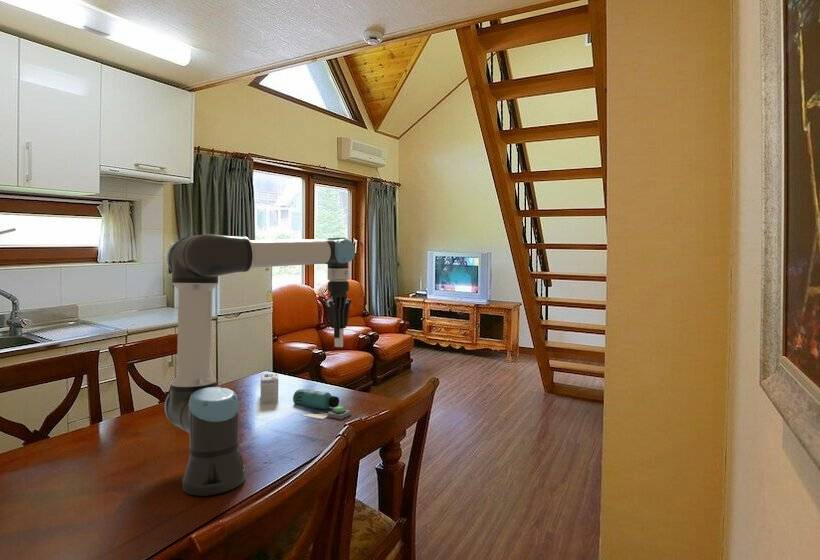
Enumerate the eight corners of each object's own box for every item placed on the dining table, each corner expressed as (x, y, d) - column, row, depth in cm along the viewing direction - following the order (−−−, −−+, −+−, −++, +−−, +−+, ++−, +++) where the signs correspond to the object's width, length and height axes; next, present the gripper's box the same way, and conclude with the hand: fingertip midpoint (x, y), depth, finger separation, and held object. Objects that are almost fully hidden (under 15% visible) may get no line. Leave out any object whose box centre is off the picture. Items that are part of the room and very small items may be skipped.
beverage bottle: (303, 396, 181) (344, 401, 172) (293, 409, 177) (335, 415, 167) (296, 384, 178) (338, 389, 169) (286, 397, 173) (329, 402, 164)
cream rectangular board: (322, 419, 160) (322, 418, 160) (295, 414, 165) (295, 413, 165) (348, 407, 174) (348, 406, 174) (323, 403, 179) (323, 402, 179)
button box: (341, 419, 160) (341, 415, 160) (327, 417, 162) (327, 412, 162) (350, 414, 165) (350, 410, 165) (337, 412, 168) (337, 408, 168)
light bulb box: (260, 400, 184) (260, 374, 184) (278, 399, 186) (277, 373, 186) (260, 408, 174) (260, 379, 174) (278, 406, 176) (278, 378, 176)
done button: (340, 413, 161) (340, 409, 161) (332, 412, 163) (332, 408, 163) (345, 411, 164) (345, 407, 164) (338, 409, 166) (338, 405, 166)
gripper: (335, 281, 156) (336, 350, 156) (357, 280, 167) (357, 344, 168) (318, 281, 159) (319, 348, 159) (340, 280, 171) (341, 343, 171)
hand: (338, 346), depth 163 cm, fingers closed
